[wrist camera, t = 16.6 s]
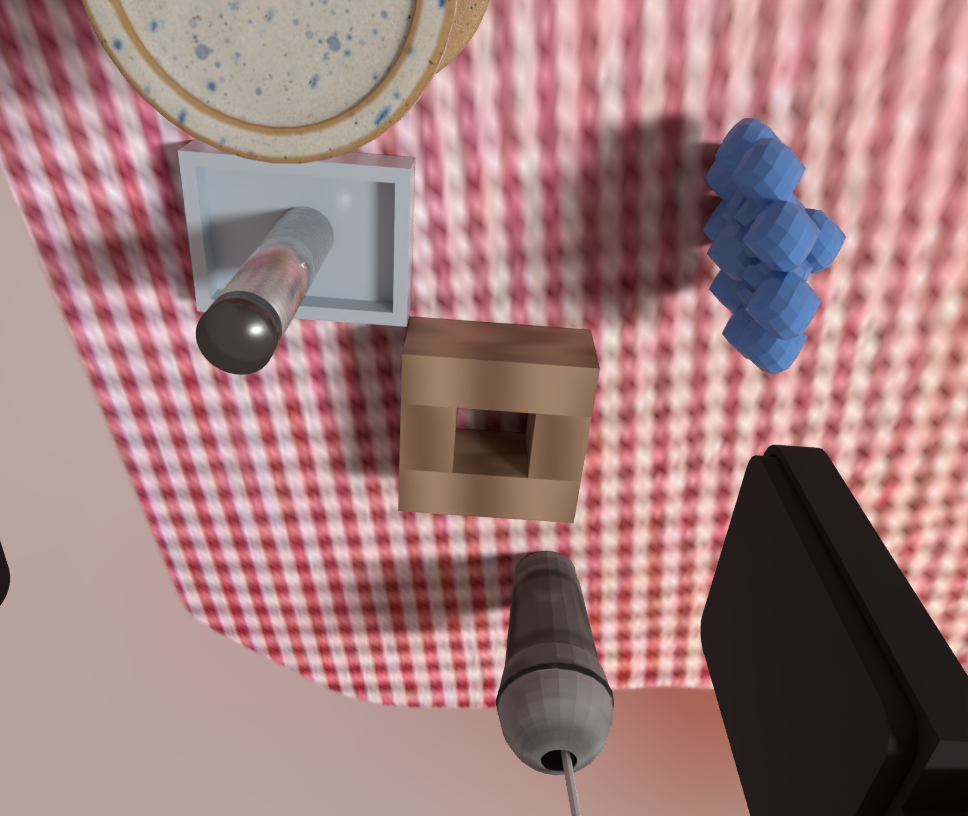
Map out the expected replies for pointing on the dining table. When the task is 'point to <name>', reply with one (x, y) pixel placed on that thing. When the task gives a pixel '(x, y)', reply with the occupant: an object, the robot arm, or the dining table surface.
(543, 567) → the beverage cup
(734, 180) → the grapes
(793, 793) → the robot arm
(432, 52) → the candle holder
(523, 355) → the block
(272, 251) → the pin
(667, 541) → the dining table surface
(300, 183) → the dish
